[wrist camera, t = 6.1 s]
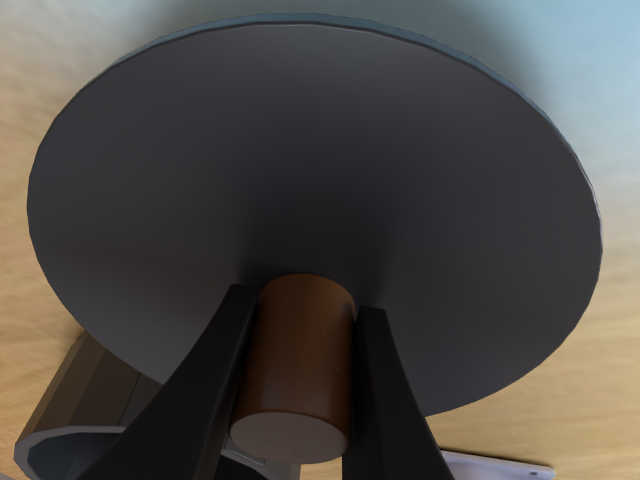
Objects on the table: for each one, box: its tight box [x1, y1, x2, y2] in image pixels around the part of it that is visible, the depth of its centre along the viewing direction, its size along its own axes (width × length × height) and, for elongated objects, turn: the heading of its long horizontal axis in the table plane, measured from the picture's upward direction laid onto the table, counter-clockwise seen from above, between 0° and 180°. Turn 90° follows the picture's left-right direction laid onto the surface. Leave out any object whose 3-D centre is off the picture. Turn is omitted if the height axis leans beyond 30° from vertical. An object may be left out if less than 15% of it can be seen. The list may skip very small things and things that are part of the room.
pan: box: [14, 330, 301, 480], centre depth 23 cm, size 13×13×6 cm
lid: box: [27, 13, 603, 464], centre depth 11 cm, size 14×14×5 cm
